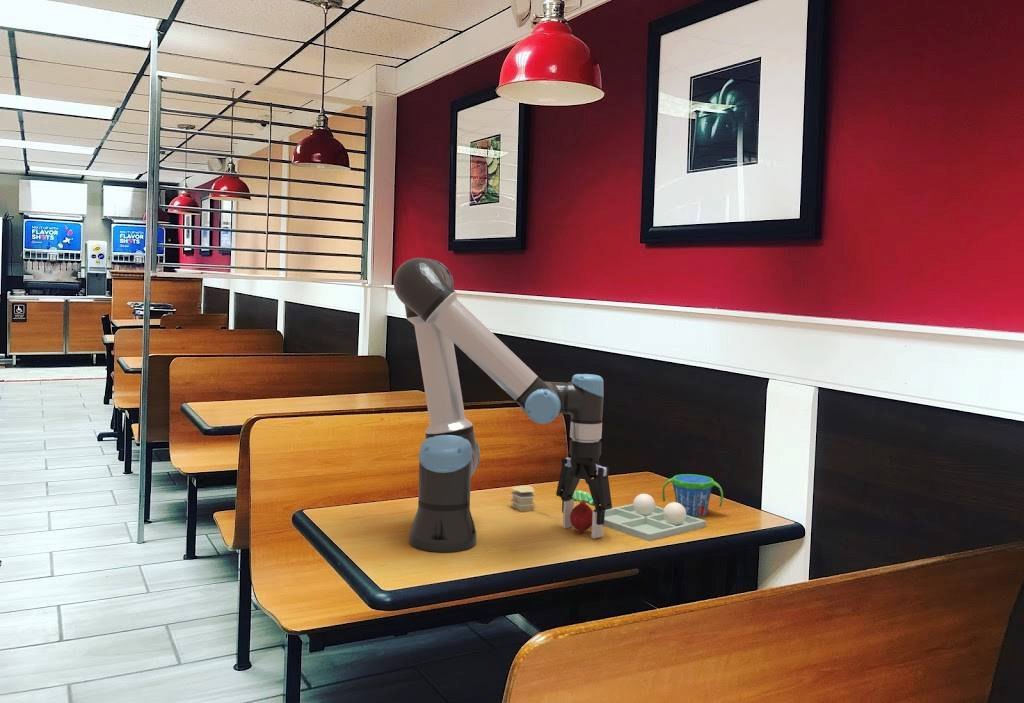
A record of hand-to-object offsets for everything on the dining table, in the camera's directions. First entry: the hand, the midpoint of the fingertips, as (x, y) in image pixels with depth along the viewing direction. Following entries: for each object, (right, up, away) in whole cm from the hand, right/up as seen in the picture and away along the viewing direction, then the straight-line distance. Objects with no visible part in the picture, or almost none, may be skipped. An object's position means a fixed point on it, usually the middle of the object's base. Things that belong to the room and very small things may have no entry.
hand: (582, 532), depth 201 cm
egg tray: (+16, 0, +7) cm, 18 cm away
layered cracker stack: (-14, +1, +21) cm, 25 cm away
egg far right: (+23, 0, +6) cm, 24 cm away
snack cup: (+30, 0, +18) cm, 35 cm away
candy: (+2, +1, +28) cm, 28 cm away
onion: (0, 0, 0) cm, 0 cm away
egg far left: (+17, +1, +14) cm, 22 cm away
